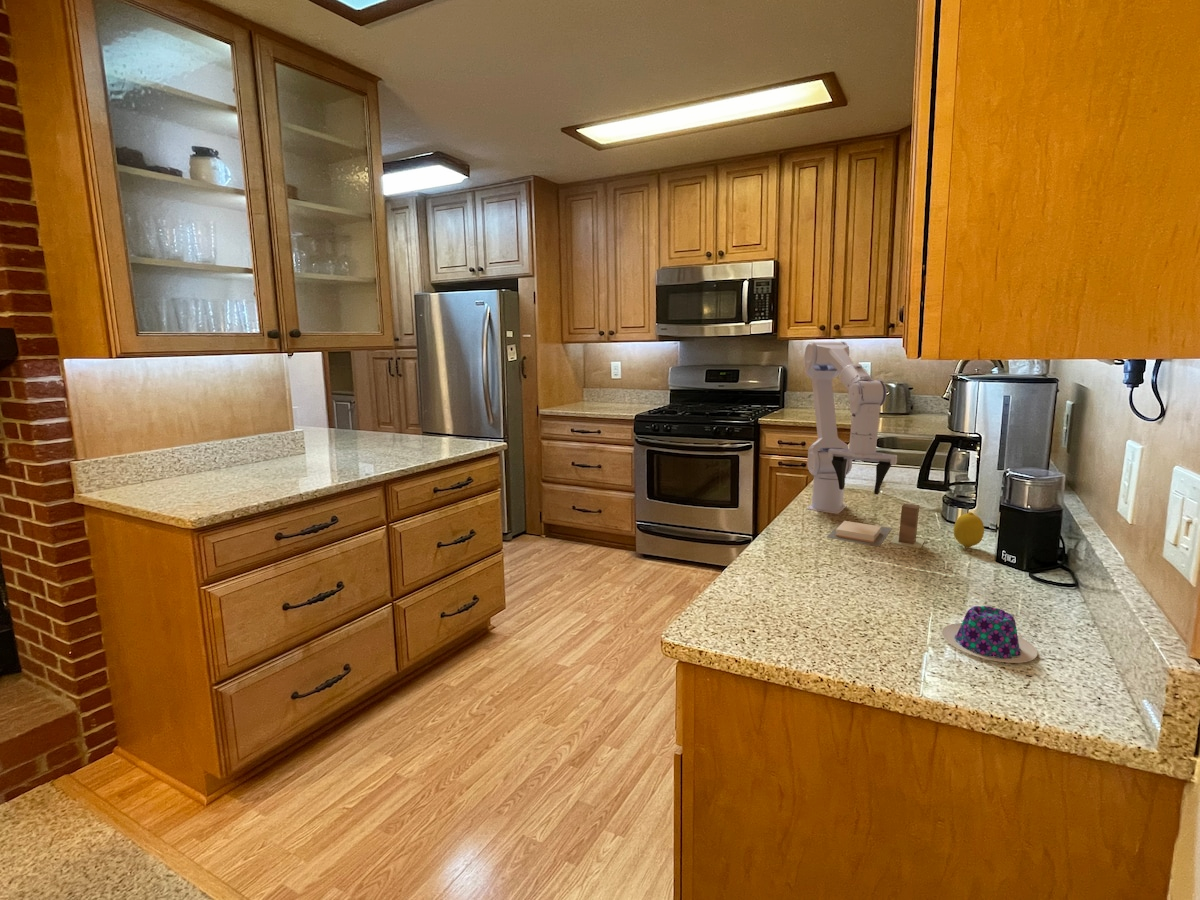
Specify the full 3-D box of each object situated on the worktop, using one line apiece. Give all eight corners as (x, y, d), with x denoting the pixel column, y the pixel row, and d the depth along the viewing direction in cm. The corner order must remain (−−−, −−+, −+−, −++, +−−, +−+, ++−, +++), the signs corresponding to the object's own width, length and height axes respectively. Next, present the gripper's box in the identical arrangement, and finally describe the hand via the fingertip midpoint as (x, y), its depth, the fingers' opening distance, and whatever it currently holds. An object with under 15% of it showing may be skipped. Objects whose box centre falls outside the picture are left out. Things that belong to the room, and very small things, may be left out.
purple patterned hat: (923, 630, 96) (926, 598, 95) (990, 624, 98) (994, 593, 97) (983, 671, 84) (987, 635, 83) (1058, 663, 86) (1063, 628, 85)
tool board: (894, 537, 139) (894, 534, 139) (924, 542, 136) (924, 539, 136) (889, 544, 134) (890, 542, 134) (920, 549, 131) (920, 547, 131)
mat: (843, 521, 151) (843, 520, 151) (892, 529, 145) (892, 528, 145) (826, 538, 138) (826, 537, 138) (878, 548, 132) (879, 546, 132)
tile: (844, 520, 145) (836, 529, 139) (881, 526, 141) (874, 535, 134) (844, 527, 145) (835, 536, 139) (880, 533, 141) (873, 542, 134)
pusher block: (900, 538, 137) (904, 503, 135) (915, 540, 135) (919, 505, 134) (898, 541, 134) (901, 506, 133) (913, 544, 133) (917, 508, 131)
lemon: (973, 544, 135) (977, 509, 133) (986, 553, 129) (991, 516, 128) (947, 543, 135) (951, 508, 134) (959, 552, 130) (963, 515, 128)
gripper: (826, 432, 142) (822, 490, 144) (895, 438, 134) (889, 499, 136) (834, 428, 147) (830, 484, 150) (900, 434, 139) (895, 492, 142)
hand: (858, 491), depth 143 cm, fingers open, 7 cm apart
